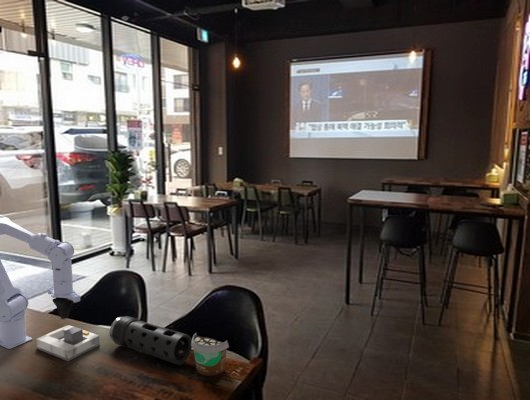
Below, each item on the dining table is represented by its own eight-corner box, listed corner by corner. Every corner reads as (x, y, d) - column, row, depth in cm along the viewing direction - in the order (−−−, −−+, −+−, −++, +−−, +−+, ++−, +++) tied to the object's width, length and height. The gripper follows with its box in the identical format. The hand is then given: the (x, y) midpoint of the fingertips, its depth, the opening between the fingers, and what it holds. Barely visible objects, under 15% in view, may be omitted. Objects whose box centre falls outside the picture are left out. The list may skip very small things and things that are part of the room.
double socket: (36, 348, 137) (36, 337, 137) (69, 334, 148) (68, 323, 147) (68, 361, 130) (67, 349, 129) (99, 345, 140) (99, 333, 140)
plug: (64, 348, 136) (63, 331, 135) (75, 343, 140) (74, 326, 139) (72, 351, 134) (71, 334, 133) (83, 346, 138) (82, 329, 137)
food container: (183, 371, 125) (182, 340, 123) (195, 361, 130) (194, 332, 129) (218, 382, 120) (217, 350, 118) (228, 371, 125) (228, 340, 124)
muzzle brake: (172, 373, 124) (172, 341, 122) (108, 350, 137) (106, 320, 136) (192, 359, 132) (192, 329, 131) (130, 338, 145) (128, 310, 144)
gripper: (38, 278, 138) (40, 317, 140) (65, 287, 131) (67, 327, 133) (57, 272, 144) (59, 309, 146) (85, 280, 137) (86, 319, 139)
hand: (64, 317), depth 140 cm, fingers closed
